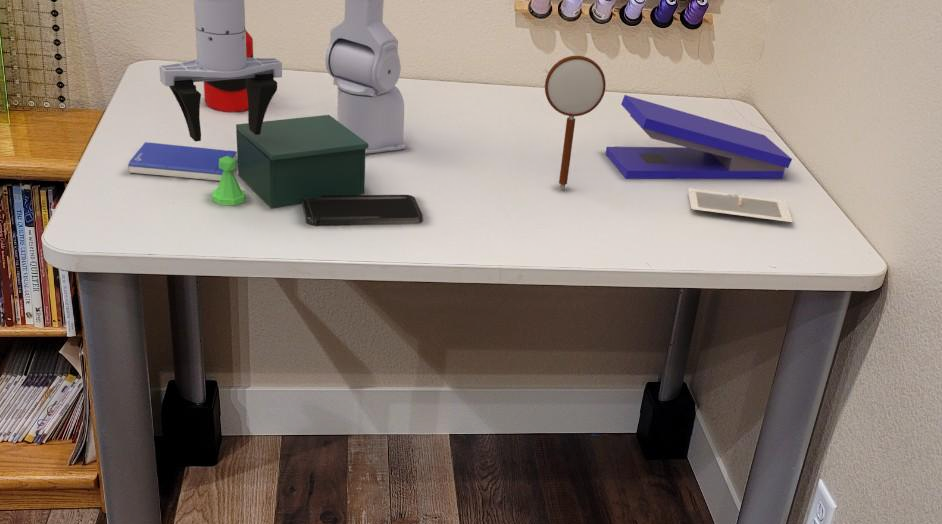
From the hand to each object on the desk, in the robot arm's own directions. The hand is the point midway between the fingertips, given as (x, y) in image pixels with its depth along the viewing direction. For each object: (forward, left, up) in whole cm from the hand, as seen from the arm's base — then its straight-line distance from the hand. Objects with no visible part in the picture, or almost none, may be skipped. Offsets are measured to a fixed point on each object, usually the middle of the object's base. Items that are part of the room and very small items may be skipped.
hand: (225, 135), depth 133 cm
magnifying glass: (-45, +13, -9) cm, 48 cm away
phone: (-14, +10, -9) cm, 20 cm away
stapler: (-72, +13, -9) cm, 74 cm away
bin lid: (-11, -1, -2) cm, 11 cm away
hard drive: (+2, -12, -9) cm, 15 cm away
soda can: (-13, -34, -9) cm, 38 cm away
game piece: (0, 0, -9) cm, 9 cm away
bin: (-11, -1, -9) cm, 14 cm away
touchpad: (-66, +29, -9) cm, 73 cm away
